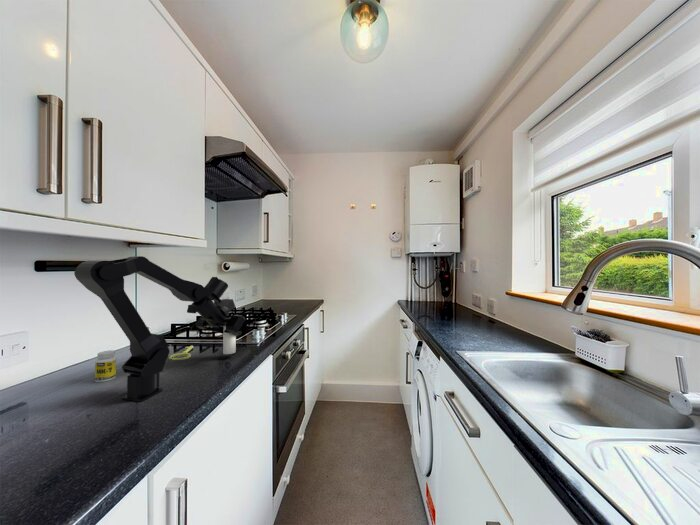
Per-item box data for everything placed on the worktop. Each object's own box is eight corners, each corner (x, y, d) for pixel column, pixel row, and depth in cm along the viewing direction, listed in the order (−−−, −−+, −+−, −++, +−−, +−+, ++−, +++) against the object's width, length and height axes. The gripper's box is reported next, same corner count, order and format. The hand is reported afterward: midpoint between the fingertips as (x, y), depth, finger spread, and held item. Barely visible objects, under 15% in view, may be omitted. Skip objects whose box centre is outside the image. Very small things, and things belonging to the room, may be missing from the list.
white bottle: (230, 354, 96) (231, 318, 97) (220, 353, 97) (221, 318, 97) (238, 350, 101) (238, 316, 101) (228, 350, 101) (228, 316, 102)
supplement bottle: (92, 383, 77) (93, 355, 77) (97, 378, 81) (97, 351, 81) (114, 380, 79) (114, 352, 80) (117, 374, 83) (118, 348, 84)
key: (193, 349, 109) (193, 344, 109) (190, 359, 98) (190, 354, 98) (173, 352, 106) (173, 347, 106) (167, 362, 95) (167, 357, 95)
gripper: (241, 293, 92) (261, 318, 103) (203, 291, 99) (225, 315, 109) (224, 319, 85) (247, 343, 95) (183, 315, 91) (209, 338, 101)
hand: (232, 334), depth 100 cm, fingers closed on white bottle, 4 cm apart
